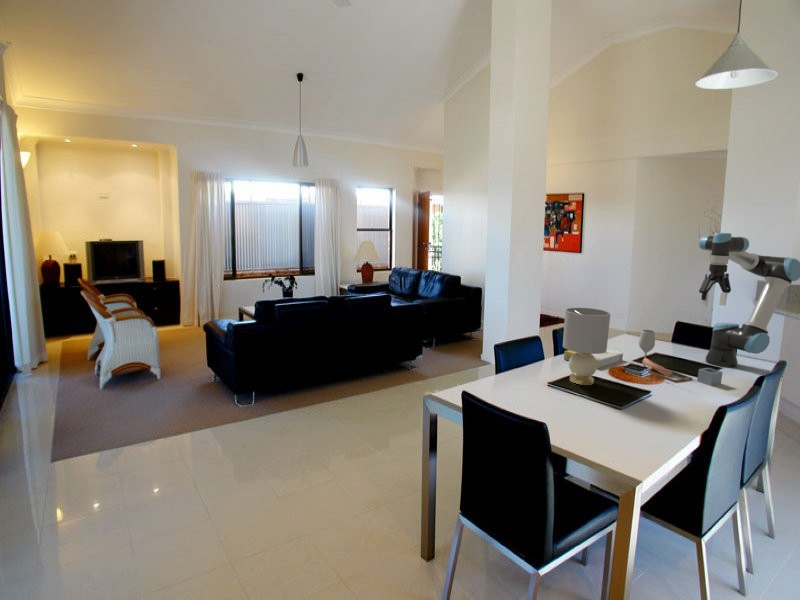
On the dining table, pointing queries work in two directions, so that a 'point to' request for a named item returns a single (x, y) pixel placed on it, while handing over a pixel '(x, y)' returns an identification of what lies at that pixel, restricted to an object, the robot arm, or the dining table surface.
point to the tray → (685, 378)
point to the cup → (709, 376)
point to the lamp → (585, 341)
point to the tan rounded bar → (657, 367)
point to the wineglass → (647, 341)
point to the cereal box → (600, 357)
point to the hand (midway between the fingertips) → (713, 305)
